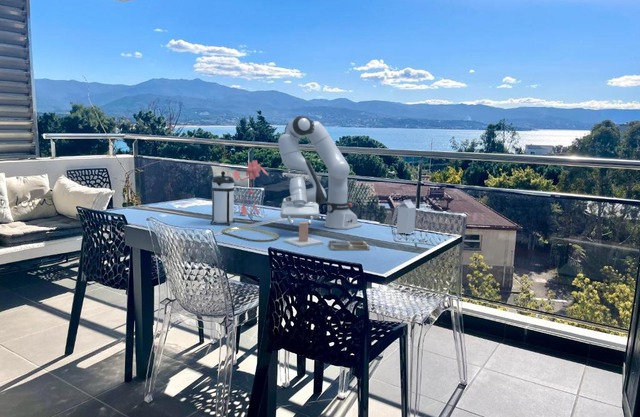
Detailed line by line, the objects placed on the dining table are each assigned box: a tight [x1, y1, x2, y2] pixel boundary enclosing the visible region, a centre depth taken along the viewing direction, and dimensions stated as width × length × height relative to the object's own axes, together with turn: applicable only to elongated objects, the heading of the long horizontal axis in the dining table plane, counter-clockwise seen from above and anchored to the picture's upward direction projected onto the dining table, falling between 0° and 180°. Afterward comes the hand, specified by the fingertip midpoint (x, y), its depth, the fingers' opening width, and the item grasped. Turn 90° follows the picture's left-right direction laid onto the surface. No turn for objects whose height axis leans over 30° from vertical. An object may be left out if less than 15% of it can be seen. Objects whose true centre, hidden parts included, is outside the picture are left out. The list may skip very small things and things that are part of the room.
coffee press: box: [210, 171, 236, 226], centre depth 281 cm, size 17×16×30 cm
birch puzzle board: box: [327, 240, 370, 251], centre depth 235 cm, size 9×18×3 cm, turn 99°
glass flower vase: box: [233, 160, 269, 218], centre depth 310 cm, size 15×26×35 cm, turn 140°
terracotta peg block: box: [298, 221, 309, 242], centre depth 241 cm, size 4×4×9 cm
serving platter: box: [222, 226, 280, 242], centre depth 255 cm, size 19×35×2 cm, turn 47°
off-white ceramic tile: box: [282, 236, 324, 248], centre depth 242 cm, size 14×14×1 cm
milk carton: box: [396, 198, 417, 234], centre depth 272 cm, size 7×7×19 cm
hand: (300, 224), depth 252 cm, fingers open, 8 cm apart
